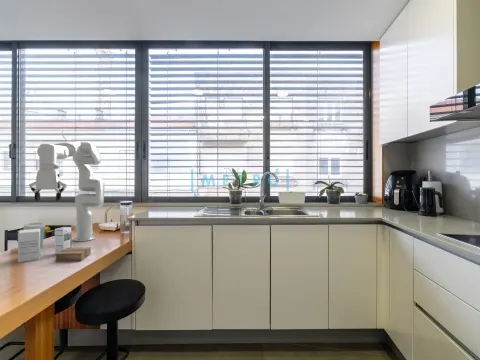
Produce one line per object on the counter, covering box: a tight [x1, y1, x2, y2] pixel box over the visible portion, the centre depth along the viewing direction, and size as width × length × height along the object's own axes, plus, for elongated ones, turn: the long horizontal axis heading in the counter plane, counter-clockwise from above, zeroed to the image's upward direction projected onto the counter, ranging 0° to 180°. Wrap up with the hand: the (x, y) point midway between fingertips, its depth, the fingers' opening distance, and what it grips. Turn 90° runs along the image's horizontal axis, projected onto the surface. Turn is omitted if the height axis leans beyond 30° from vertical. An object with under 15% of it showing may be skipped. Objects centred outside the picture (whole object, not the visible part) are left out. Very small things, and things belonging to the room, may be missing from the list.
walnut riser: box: [55, 246, 92, 263], centre depth 144 cm, size 12×12×4 cm
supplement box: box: [17, 229, 41, 263], centre depth 141 cm, size 9×9×15 cm
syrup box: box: [54, 226, 73, 255], centre depth 152 cm, size 6×6×14 cm
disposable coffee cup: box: [22, 222, 47, 249], centre depth 160 cm, size 11×11×15 cm
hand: (48, 200), depth 140 cm, fingers open, 9 cm apart
